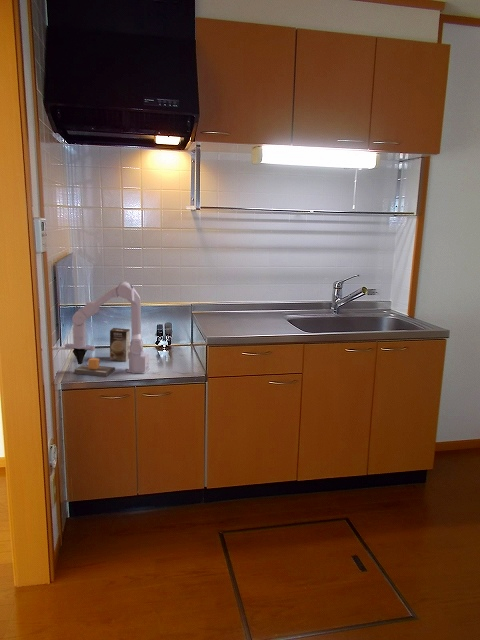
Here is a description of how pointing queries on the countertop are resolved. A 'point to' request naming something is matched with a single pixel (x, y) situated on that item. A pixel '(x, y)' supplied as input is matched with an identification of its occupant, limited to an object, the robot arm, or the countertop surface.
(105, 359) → the countertop surface
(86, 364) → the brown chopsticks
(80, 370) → the switch panel
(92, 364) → the knob
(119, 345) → the coffee box
